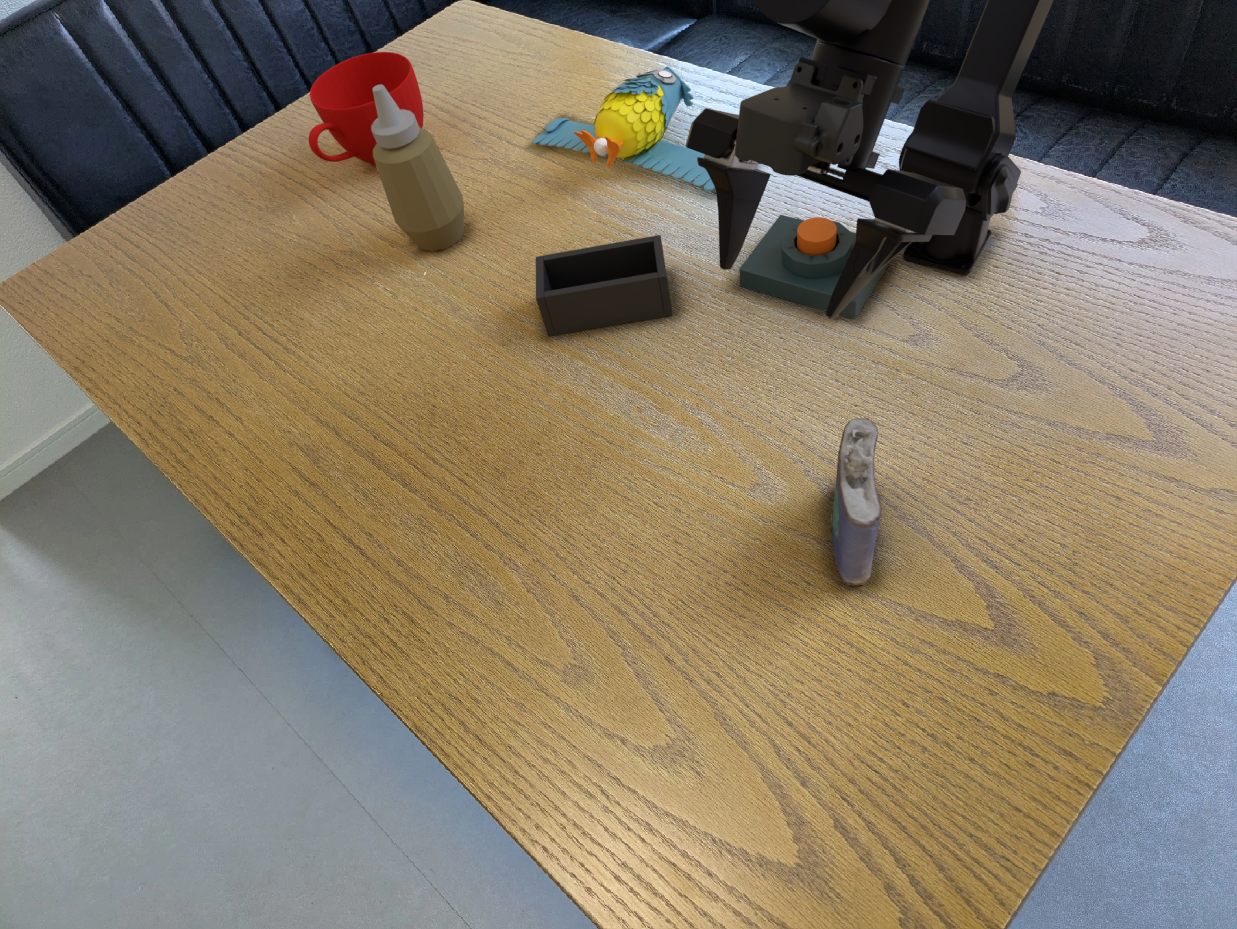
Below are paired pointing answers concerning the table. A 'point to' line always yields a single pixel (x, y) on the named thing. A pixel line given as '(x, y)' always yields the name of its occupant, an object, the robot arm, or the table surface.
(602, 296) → the box
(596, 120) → the owl figurine
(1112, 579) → the table surface
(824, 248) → the button
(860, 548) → the flask
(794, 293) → the panel
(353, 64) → the ceramic cup
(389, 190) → the squeeze bottle
